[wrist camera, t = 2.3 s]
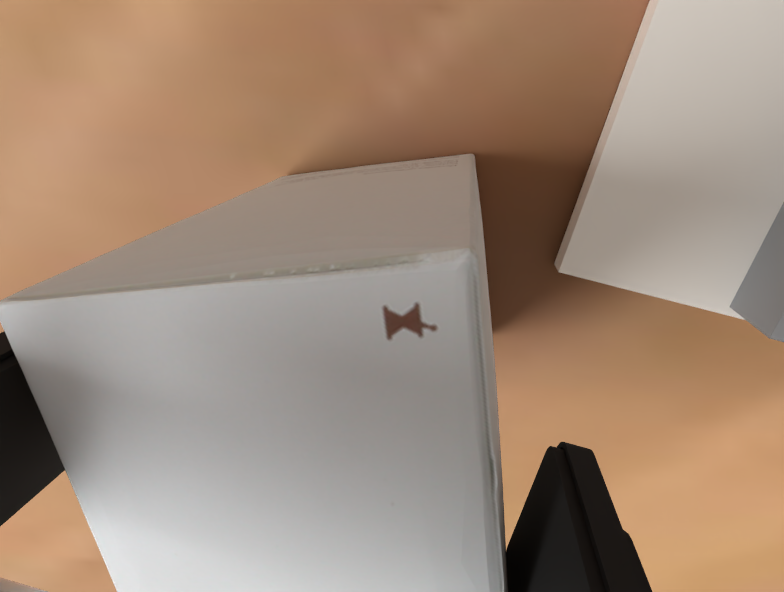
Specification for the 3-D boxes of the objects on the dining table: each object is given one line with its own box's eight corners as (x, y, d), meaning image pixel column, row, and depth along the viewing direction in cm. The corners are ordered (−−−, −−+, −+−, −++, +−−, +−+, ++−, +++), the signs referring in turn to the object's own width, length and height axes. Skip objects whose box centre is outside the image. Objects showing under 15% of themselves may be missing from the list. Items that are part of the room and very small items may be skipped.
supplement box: (276, 172, 19) (-32, 286, 7) (478, 149, 18) (497, 242, 6) (311, 351, 21) (122, 650, 10) (490, 342, 20) (520, 673, 8)
